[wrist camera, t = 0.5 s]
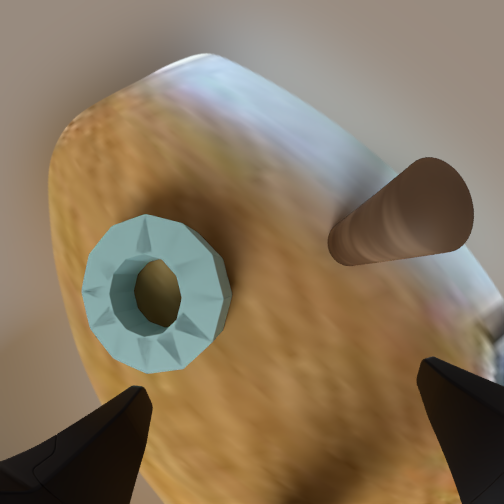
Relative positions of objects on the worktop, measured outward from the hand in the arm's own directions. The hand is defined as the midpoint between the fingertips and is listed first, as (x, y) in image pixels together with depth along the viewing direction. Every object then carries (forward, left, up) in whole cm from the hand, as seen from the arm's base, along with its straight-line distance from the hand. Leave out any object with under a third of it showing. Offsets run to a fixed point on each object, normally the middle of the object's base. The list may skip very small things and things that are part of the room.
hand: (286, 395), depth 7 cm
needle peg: (+4, -7, -14) cm, 16 cm away
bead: (+4, +8, -14) cm, 17 cm away
